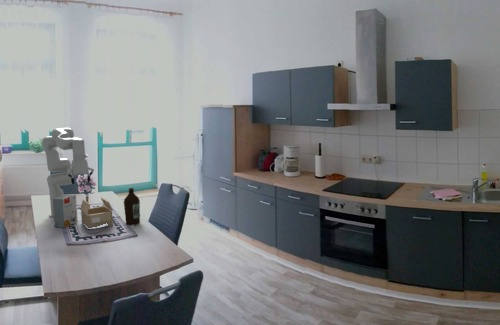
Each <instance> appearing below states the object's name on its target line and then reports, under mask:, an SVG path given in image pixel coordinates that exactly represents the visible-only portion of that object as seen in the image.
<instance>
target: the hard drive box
mask: <svg viewBox="0 0 500 325" xmlns="http://www.w3.org/2000/svg"><path fill="white" fill-rule="evenodd" d="M53 210H54V217H53V222H54V225H53V226H54V228H66V227H69V226H71V225H73V224H76V223H78V208H77V195H76V194H73V193H72V194H69V193H67V194H64V195H63V196H60V197H57V198H54V199H53Z"/></svg>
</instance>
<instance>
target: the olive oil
mask: <svg viewBox="0 0 500 325" xmlns="http://www.w3.org/2000/svg"><path fill="white" fill-rule="evenodd" d="M134 192H135V190H134V187H129V188H128V194H127V195H126V196H125V198H124V200H123V208H124V216H125V224H126V225H128V226H136V225H138V224H140V223H141V212H140V211H141V209H140V208H141V207H140V206H141V204H140V203H141V202H140V198H139V197H138V195H136V194H135V193H134Z"/></svg>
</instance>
